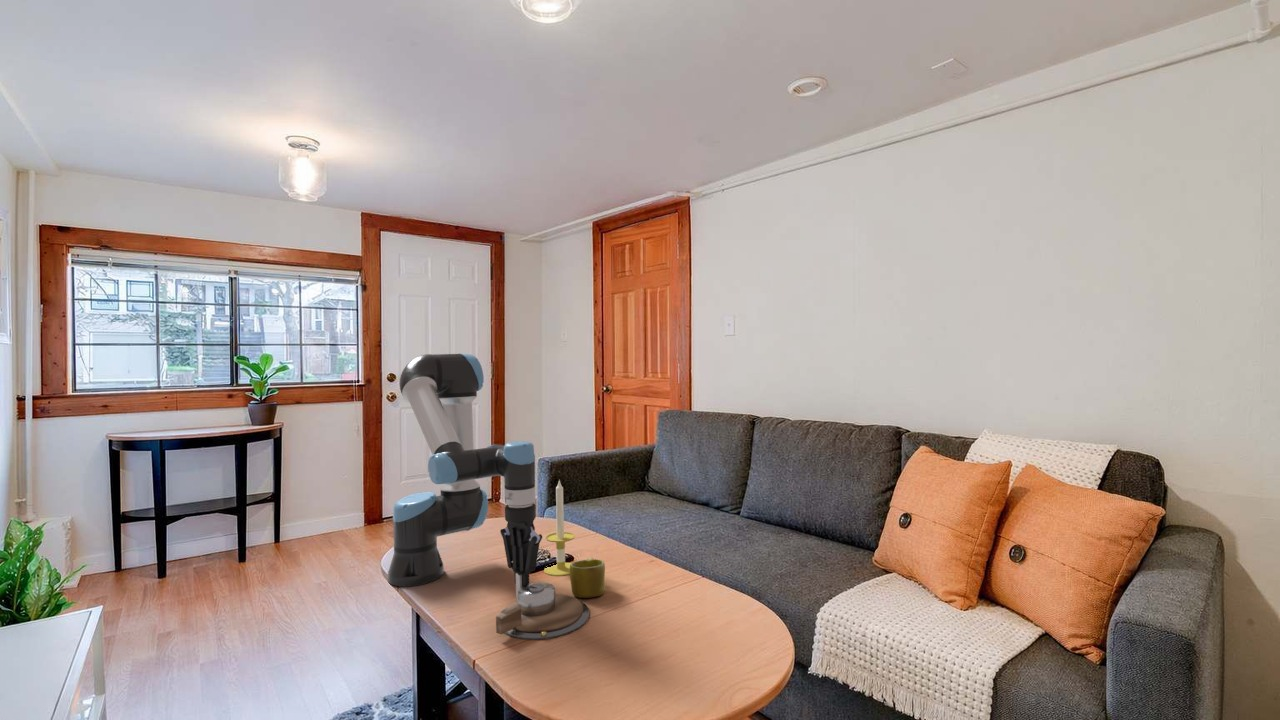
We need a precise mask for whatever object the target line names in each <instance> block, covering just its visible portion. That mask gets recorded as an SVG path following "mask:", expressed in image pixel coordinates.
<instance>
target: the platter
mask: <svg viewBox="0 0 1280 720" xmlns="http://www.w3.org/2000/svg"><path fill="white" fill-rule="evenodd" d="M579 600H580V599H578V598H577V597H575V596H574V597H573V596H570V595H567V594H562V593H561V594H559V593H555V604H556V607H555V609H554V610H553V611H552V612H550V613H548V614H546V615H542V616H525V615H522V614H521V609H520V608H518V600H515V601H514V602H512V603H511V604H510V605H508V606H507V607H505V608H506V610H505V611H504V613H501V612H500V613H501V614H500V613H499V614H497V615H496V617H495V628H496V629H495V630H496V631H495V632H496V634H499V635H503V634H505V632H507V631H509V630H511V629H515V630H519V631H523V632H542V631H546V632H548V631H554V630H558V629H561V628H564V627H567V626H569V625H571V624H573V623H575V622H576V621H577V620H578V619H579V618H580V617H581V616H582V614H583V605H582V603H581V602H580V601H581V600H580V601H579Z"/></svg>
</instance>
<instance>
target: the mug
mask: <svg viewBox="0 0 1280 720" xmlns="http://www.w3.org/2000/svg"><path fill="white" fill-rule="evenodd" d="M570 563H571V564H570V574H569V578H570V587H571V592H572V595H573V596H574V598H580V599H590V598H595V597H600V596H603V594H604V592H605V590H606V589H605V588H606V586H605V571H606V565H605V562H604V561H603V560H602V559H596V558H595V559H594V558H593V557H589V558H586V559H581V560H576V561H573V562H570Z"/></svg>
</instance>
